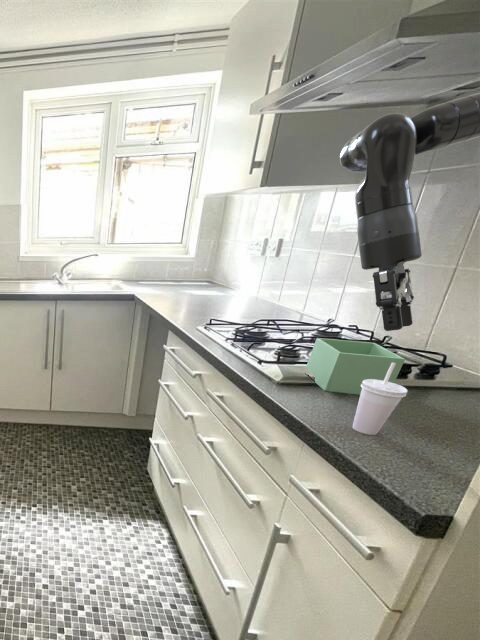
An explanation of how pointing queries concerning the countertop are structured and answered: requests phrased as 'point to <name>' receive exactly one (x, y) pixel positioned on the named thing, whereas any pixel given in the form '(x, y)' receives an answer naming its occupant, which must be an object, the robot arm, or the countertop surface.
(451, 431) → the countertop surface
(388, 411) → the smoothie
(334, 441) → the countertop surface
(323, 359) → the bin
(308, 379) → the countertop surface
